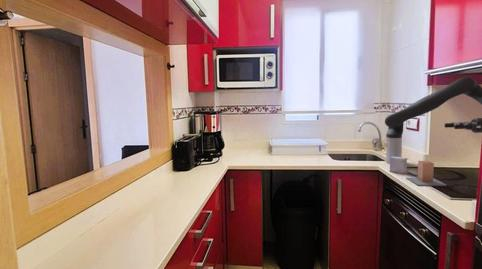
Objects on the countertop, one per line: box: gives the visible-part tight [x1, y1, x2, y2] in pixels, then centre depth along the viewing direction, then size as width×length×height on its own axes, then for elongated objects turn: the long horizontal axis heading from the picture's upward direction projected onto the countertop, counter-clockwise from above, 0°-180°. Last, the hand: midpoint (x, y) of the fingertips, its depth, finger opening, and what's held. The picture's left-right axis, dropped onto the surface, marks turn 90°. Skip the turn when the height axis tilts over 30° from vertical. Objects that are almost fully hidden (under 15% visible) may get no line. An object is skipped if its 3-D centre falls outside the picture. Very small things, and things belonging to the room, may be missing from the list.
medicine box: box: [389, 156, 408, 174], centre depth 162 cm, size 8×4×9 cm, turn 41°
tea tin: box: [417, 160, 435, 182], centre depth 141 cm, size 5×5×10 cm
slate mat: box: [405, 177, 447, 187], centre depth 142 cm, size 13×13×1 cm
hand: (449, 126), depth 143 cm, fingers open, 8 cm apart
